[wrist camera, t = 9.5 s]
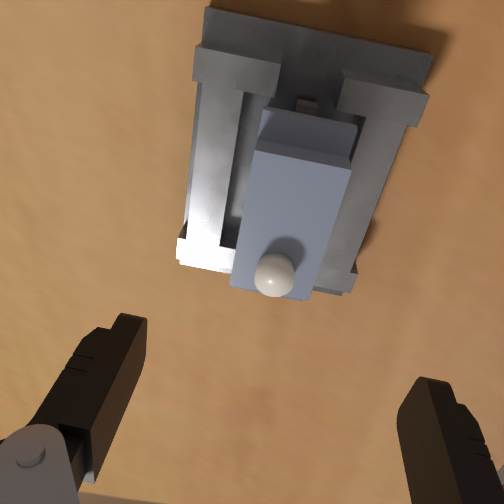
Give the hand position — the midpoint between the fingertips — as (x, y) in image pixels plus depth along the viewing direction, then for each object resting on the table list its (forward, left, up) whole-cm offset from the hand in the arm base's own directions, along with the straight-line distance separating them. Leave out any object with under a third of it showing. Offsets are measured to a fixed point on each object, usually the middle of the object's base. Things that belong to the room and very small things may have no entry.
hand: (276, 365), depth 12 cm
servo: (0, 0, -14) cm, 14 cm away
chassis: (0, 0, -15) cm, 15 cm away
